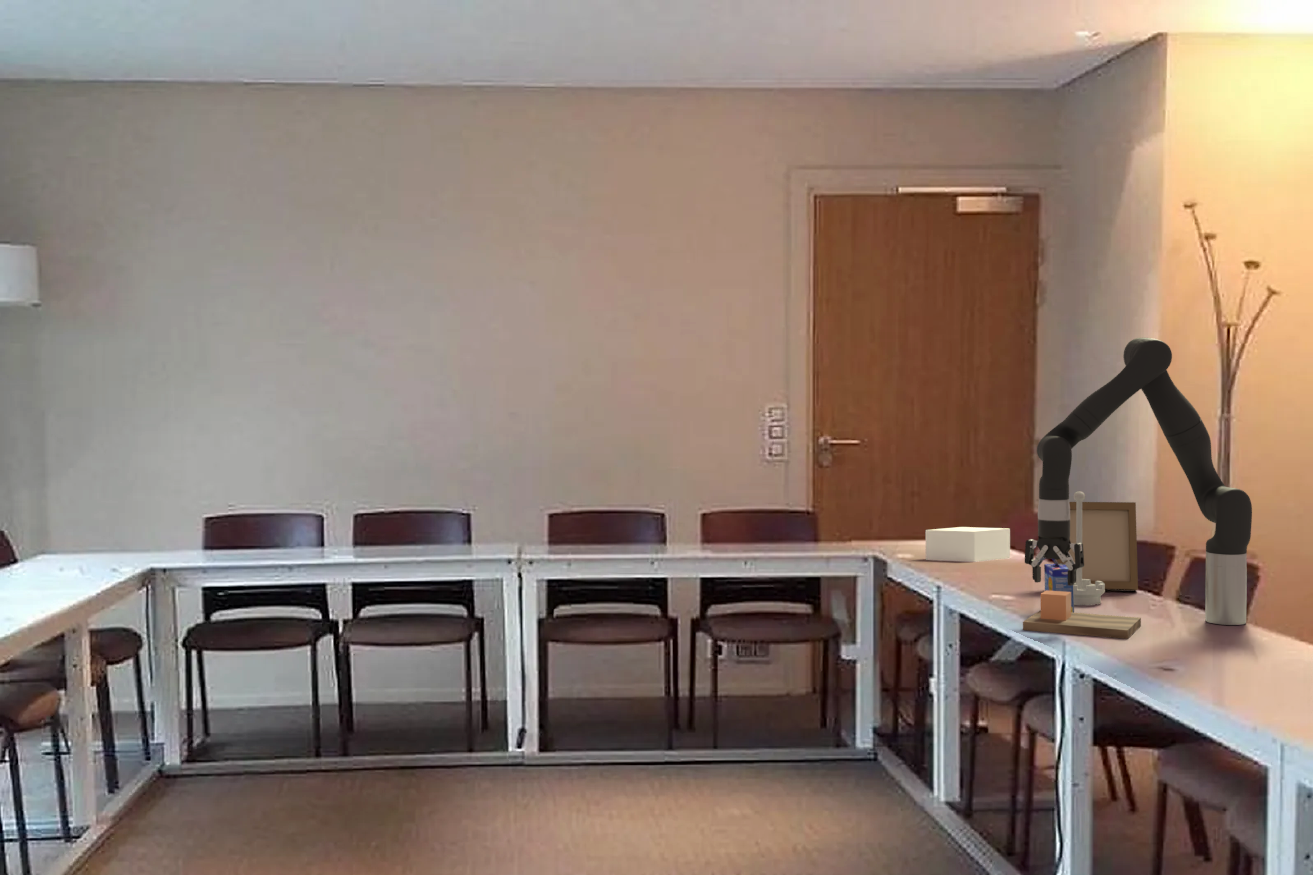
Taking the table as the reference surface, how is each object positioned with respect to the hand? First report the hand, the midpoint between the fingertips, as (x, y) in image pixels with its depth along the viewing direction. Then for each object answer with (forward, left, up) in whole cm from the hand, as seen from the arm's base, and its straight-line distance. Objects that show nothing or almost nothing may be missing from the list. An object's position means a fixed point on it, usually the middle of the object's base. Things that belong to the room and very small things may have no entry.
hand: (1054, 583), depth 317 cm
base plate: (+1, +7, -10) cm, 12 cm away
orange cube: (0, 0, -8) cm, 8 cm away
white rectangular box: (-108, -53, -11) cm, 121 cm away
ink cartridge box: (-17, -3, -10) cm, 20 cm away
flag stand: (-37, -2, -10) cm, 39 cm away
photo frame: (-63, -3, -10) cm, 64 cm away
